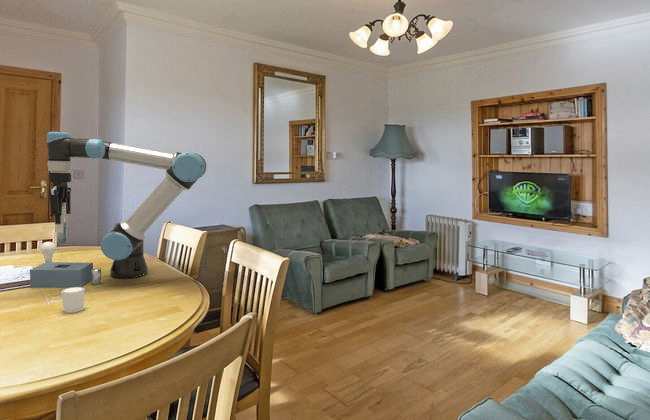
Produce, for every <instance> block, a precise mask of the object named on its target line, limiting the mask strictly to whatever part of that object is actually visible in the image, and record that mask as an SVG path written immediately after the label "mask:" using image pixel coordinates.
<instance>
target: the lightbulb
mask: <svg viewBox="0 0 650 420" xmlns="http://www.w3.org/2000/svg"><path fill="white" fill-rule="evenodd" d="M39 251H40V253H41V254H42V256H43V258H44V261H45V262H44V263H46V262H53V257H54V254H55V253H56V251H57V244H56V243H54V242H52V241H45V242H43V243H42V244H41V245H40V246H39Z"/></svg>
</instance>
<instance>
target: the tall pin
mask: <svg viewBox="0 0 650 420" xmlns="http://www.w3.org/2000/svg"><path fill="white" fill-rule="evenodd" d="M61 216H63V231H64V232H55V233H56V235H55V237H56V243H57V244H66V243H68V230H67V222H66V202H62V215H61Z"/></svg>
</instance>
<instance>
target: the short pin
mask: <svg viewBox="0 0 650 420" xmlns="http://www.w3.org/2000/svg"><path fill="white" fill-rule="evenodd" d="M90 283H91V286H99V285H98V284H100V285H102V268H93V269H92V270H91V281H90Z"/></svg>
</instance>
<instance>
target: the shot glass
mask: <svg viewBox="0 0 650 420" xmlns="http://www.w3.org/2000/svg"><path fill="white" fill-rule="evenodd" d="M85 293H86V288H85V287H83V286H82V287H71V288H63V289H62V290H60V295H61V301H62V306H63V312H64V313H68V314H69V313H70V314H71V313H73V314H74V313H77V312H81V311H84V308H85V307H84V305H85V296H86V295H85Z"/></svg>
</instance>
